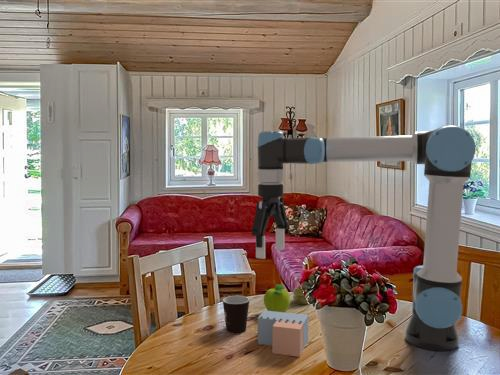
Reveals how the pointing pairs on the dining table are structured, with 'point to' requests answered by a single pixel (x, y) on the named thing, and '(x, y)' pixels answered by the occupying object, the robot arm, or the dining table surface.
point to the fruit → (277, 299)
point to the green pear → (299, 295)
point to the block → (288, 338)
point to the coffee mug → (236, 313)
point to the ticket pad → (268, 321)
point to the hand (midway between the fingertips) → (270, 253)
